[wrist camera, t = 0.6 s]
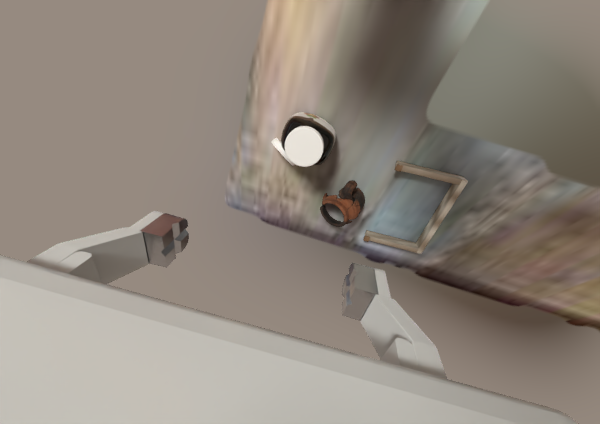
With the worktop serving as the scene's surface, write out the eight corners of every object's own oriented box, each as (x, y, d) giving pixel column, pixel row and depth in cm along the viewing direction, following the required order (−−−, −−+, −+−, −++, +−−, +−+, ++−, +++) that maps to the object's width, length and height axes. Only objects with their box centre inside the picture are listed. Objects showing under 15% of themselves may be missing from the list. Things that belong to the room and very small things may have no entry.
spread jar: (341, 126, 48) (340, 140, 38) (318, 172, 54) (312, 194, 44) (288, 100, 47) (273, 108, 37) (271, 150, 53) (254, 168, 43)
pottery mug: (362, 216, 59) (346, 236, 54) (331, 199, 62) (314, 217, 58) (376, 179, 50) (358, 199, 45) (339, 162, 54) (319, 179, 49)
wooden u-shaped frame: (394, 159, 50) (397, 164, 47) (462, 176, 49) (469, 182, 46) (362, 233, 60) (363, 240, 58) (418, 247, 60) (421, 255, 57)
